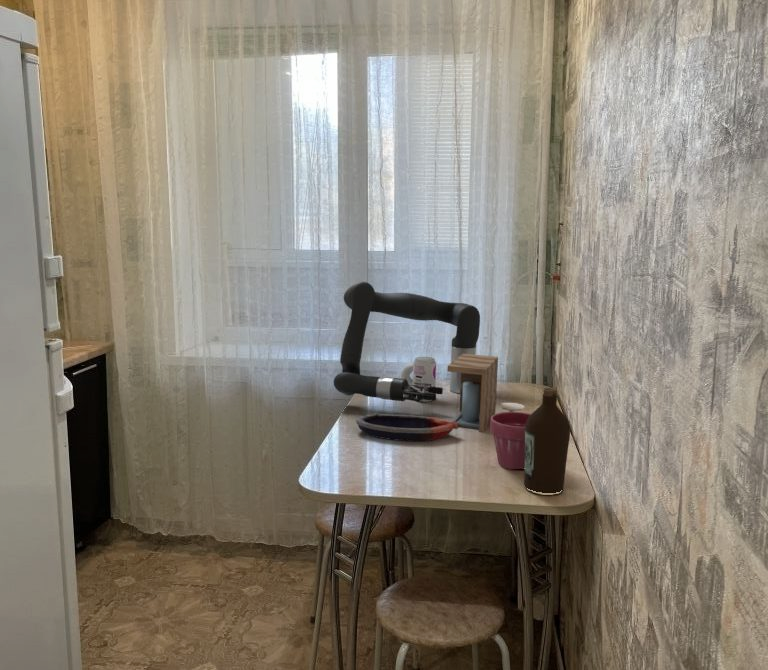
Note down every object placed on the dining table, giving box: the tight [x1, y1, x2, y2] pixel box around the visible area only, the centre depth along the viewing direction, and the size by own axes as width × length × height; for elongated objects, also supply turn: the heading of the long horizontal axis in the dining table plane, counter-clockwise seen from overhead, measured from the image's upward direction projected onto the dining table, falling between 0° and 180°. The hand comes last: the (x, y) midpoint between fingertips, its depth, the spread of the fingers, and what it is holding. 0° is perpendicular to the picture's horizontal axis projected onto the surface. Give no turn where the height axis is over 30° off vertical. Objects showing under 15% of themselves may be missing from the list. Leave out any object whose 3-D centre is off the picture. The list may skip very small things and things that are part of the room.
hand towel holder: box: [499, 402, 525, 412], centre depth 221 cm, size 17×4×21 cm
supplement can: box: [412, 356, 437, 403], centre depth 246 cm, size 8×8×15 cm
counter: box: [446, 354, 499, 433], centre depth 221 cm, size 21×12×20 cm, turn 161°
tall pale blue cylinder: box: [462, 382, 481, 422], centre depth 221 cm, size 6×6×12 cm
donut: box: [400, 362, 413, 385], centre depth 262 cm, size 10×4×10 cm, turn 77°
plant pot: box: [489, 411, 532, 470], centre depth 183 cm, size 14×14×13 cm
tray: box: [451, 411, 480, 430], centre depth 222 cm, size 14×9×1 cm, turn 161°
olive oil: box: [523, 387, 571, 493], centre depth 166 cm, size 11×11×25 cm
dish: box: [355, 412, 458, 442], centre depth 207 cm, size 16×31×5 cm, turn 81°
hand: (439, 394), depth 224 cm, fingers open, 8 cm apart
